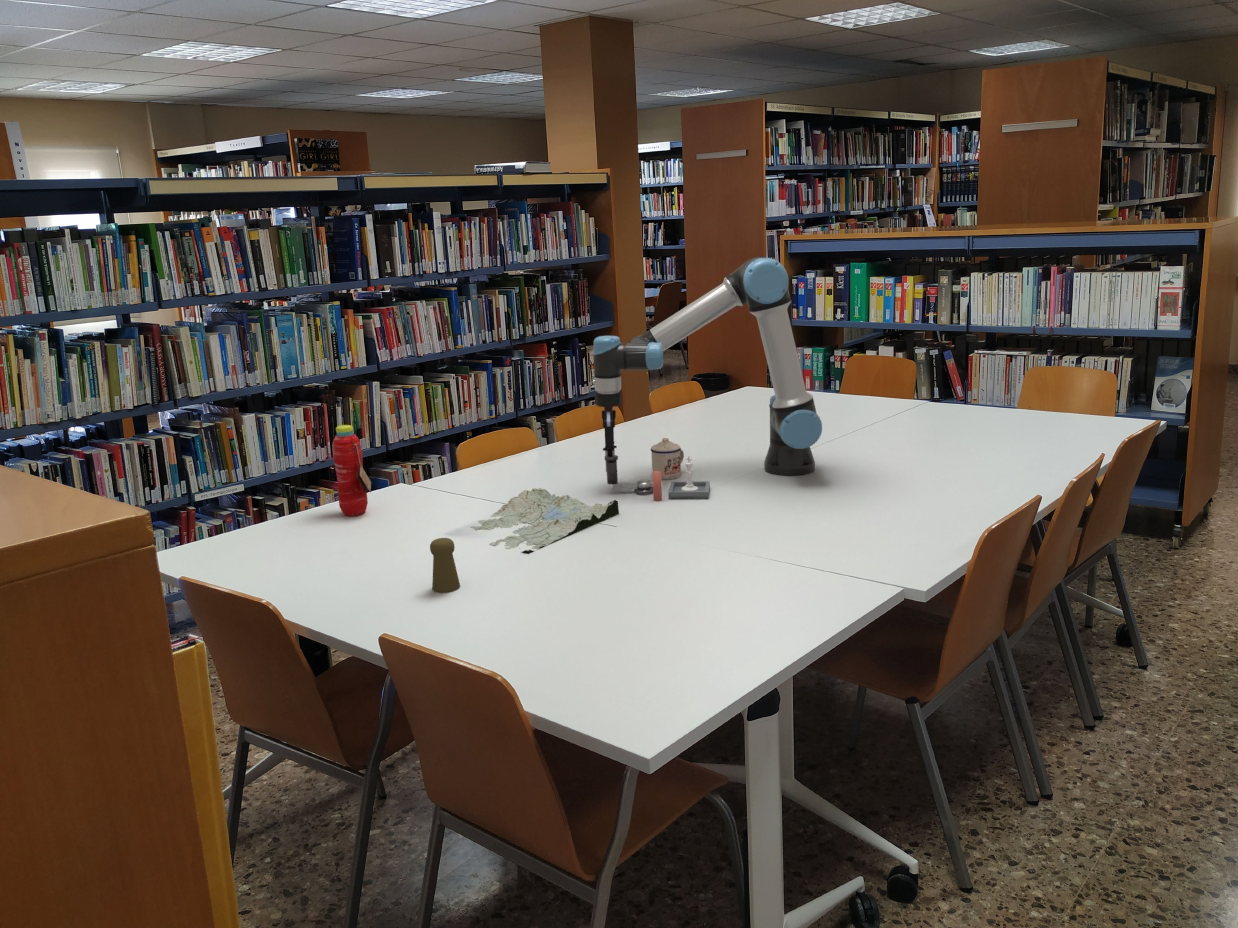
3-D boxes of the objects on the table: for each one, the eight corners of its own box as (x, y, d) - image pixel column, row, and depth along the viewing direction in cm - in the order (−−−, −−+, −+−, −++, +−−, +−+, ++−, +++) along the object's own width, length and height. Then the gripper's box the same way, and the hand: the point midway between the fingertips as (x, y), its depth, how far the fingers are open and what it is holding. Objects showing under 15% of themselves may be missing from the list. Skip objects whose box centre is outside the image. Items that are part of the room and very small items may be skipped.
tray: (709, 487, 267) (709, 481, 267) (708, 499, 257) (708, 492, 256) (671, 488, 269) (671, 481, 268) (668, 499, 258) (668, 492, 258)
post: (662, 498, 259) (661, 470, 257) (661, 500, 257) (660, 473, 255) (653, 498, 260) (652, 470, 258) (653, 501, 257) (651, 473, 255)
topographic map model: (528, 556, 220) (527, 536, 219) (443, 536, 238) (441, 518, 237) (619, 516, 248) (618, 498, 246) (537, 500, 265) (536, 484, 264)
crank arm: (651, 484, 268) (650, 453, 266) (651, 489, 264) (650, 456, 261) (606, 486, 269) (604, 454, 266) (605, 490, 264) (604, 458, 262)
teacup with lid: (667, 481, 276) (665, 443, 273) (645, 476, 282) (643, 439, 279) (694, 473, 283) (693, 435, 280) (672, 468, 290) (671, 432, 287)
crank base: (655, 488, 269) (655, 485, 268) (653, 494, 263) (653, 491, 263) (635, 489, 270) (635, 485, 269) (632, 495, 264) (632, 491, 264)
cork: (433, 583, 205) (428, 536, 202) (461, 581, 205) (456, 533, 202) (430, 593, 199) (425, 545, 196) (459, 591, 199) (454, 543, 197)
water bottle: (383, 513, 258) (373, 425, 252) (359, 521, 252) (348, 431, 246) (356, 506, 265) (346, 421, 259) (333, 514, 259) (321, 426, 253)
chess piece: (686, 487, 266) (685, 453, 263) (701, 489, 263) (700, 455, 261) (677, 491, 262) (676, 457, 259) (692, 493, 259) (691, 459, 257)
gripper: (595, 387, 269) (598, 465, 276) (594, 396, 257) (596, 477, 264) (621, 386, 269) (623, 464, 276) (621, 395, 257) (623, 477, 264)
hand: (610, 471), depth 270 cm, fingers closed
